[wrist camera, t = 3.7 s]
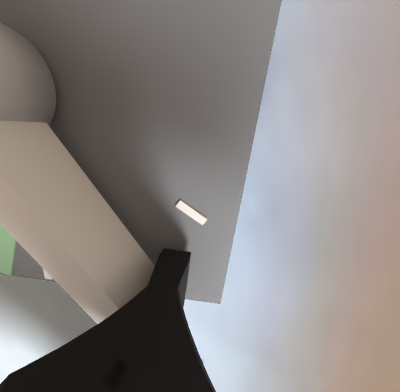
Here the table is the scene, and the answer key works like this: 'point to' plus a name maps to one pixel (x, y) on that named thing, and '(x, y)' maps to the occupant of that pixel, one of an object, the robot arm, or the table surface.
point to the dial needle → (58, 193)
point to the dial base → (155, 116)
